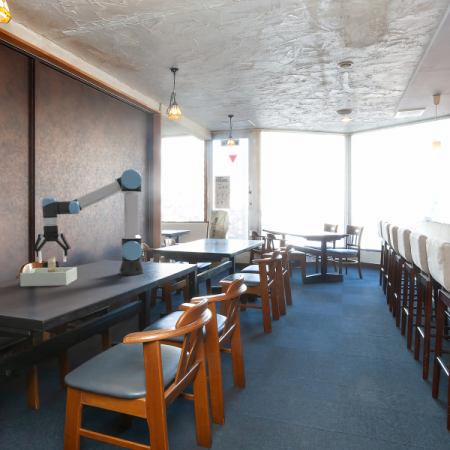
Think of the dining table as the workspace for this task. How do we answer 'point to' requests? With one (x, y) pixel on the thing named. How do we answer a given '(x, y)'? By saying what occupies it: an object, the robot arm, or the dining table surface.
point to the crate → (48, 276)
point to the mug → (45, 265)
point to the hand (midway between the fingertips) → (52, 262)
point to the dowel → (51, 264)
